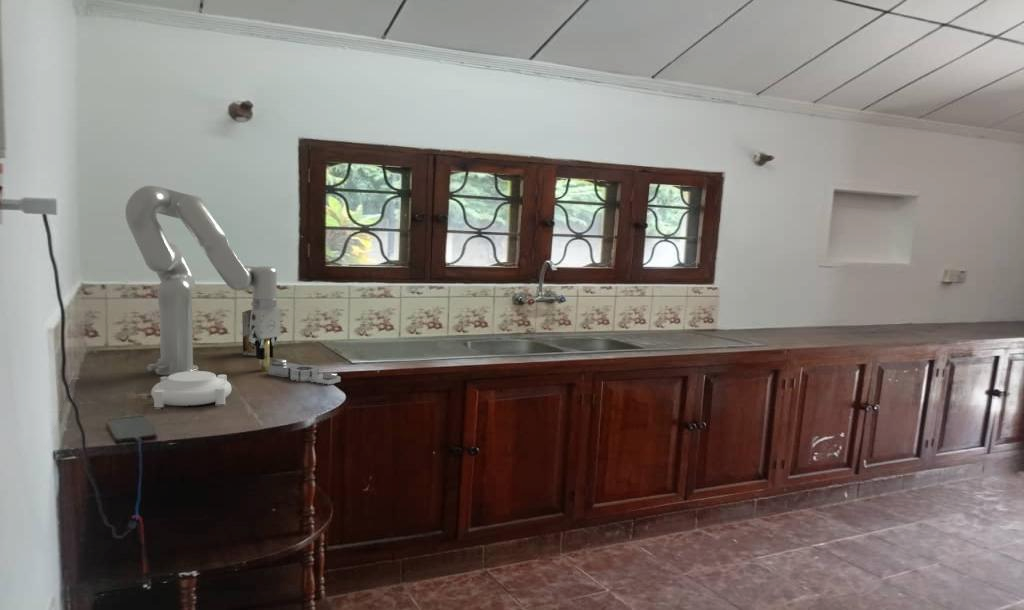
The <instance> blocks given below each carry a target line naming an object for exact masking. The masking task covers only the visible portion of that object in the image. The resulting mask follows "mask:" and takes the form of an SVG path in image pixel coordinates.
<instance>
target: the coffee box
mask: <svg viewBox="0 0 1024 610" xmlns="http://www.w3.org/2000/svg"><path fill="white" fill-rule="evenodd" d="M251 310H252V309H249V310H245V311H243V312H242V313H241V315H242V317H241V320H242V322H241V323H242V355H243V356H252V357H253V356H254V357H256V347H255V346H254V344H253V343H251V342H249V341H248V339H249V337H250V316H251ZM259 342H260V340H259Z"/></svg>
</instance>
